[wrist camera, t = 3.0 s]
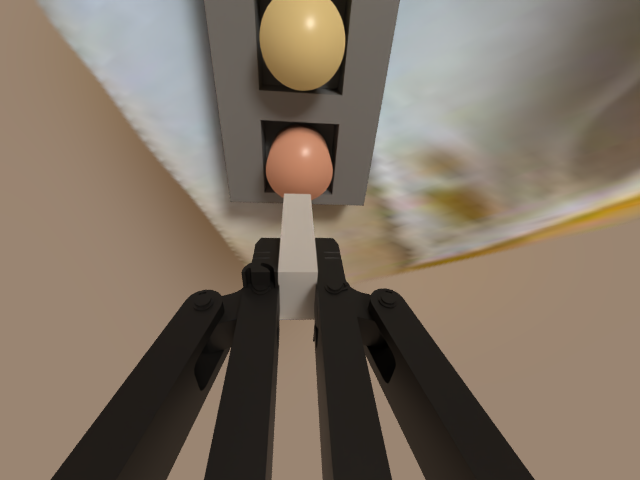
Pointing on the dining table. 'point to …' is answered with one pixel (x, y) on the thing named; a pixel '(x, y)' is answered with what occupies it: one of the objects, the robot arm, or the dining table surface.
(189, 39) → the dining table surface
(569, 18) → the dining table surface
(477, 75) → the dining table surface
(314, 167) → the pink button
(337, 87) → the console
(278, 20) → the ochre button
